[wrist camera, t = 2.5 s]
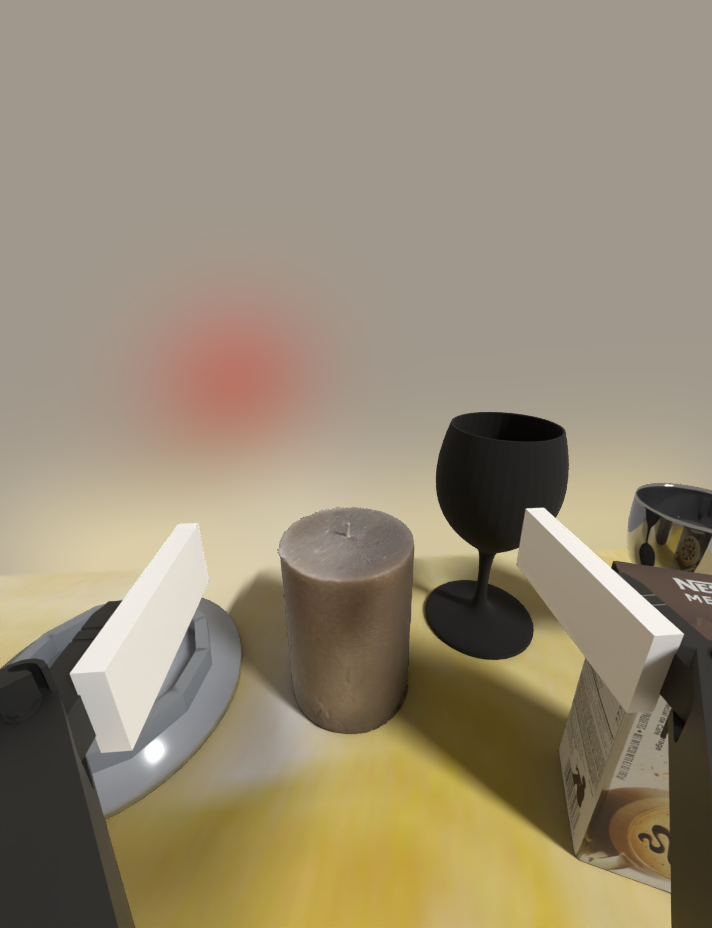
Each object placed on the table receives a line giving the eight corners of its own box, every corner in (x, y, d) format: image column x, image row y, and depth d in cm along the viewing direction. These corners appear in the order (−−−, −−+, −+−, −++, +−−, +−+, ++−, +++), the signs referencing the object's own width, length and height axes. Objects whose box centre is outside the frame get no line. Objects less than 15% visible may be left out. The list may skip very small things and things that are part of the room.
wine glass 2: (603, 677, 32) (654, 521, 26) (585, 611, 39) (623, 477, 33) (721, 709, 29) (806, 544, 24) (680, 632, 36) (738, 491, 31)
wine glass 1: (422, 579, 44) (435, 408, 36) (517, 586, 42) (550, 411, 35) (428, 654, 34) (447, 443, 27) (549, 666, 33) (605, 448, 25)
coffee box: (711, 791, 24) (827, 588, 18) (779, 938, 19) (980, 713, 13) (554, 745, 27) (610, 554, 21) (572, 861, 21) (655, 645, 15)
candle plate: (-150, 819, 23) (-174, 791, 22) (94, 593, 42) (87, 572, 41) (158, 867, 21) (148, 839, 20) (271, 607, 40) (269, 586, 38)
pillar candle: (432, 699, 30) (447, 535, 25) (318, 762, 26) (306, 582, 20) (370, 619, 38) (371, 482, 33) (276, 657, 34) (259, 508, 29)
